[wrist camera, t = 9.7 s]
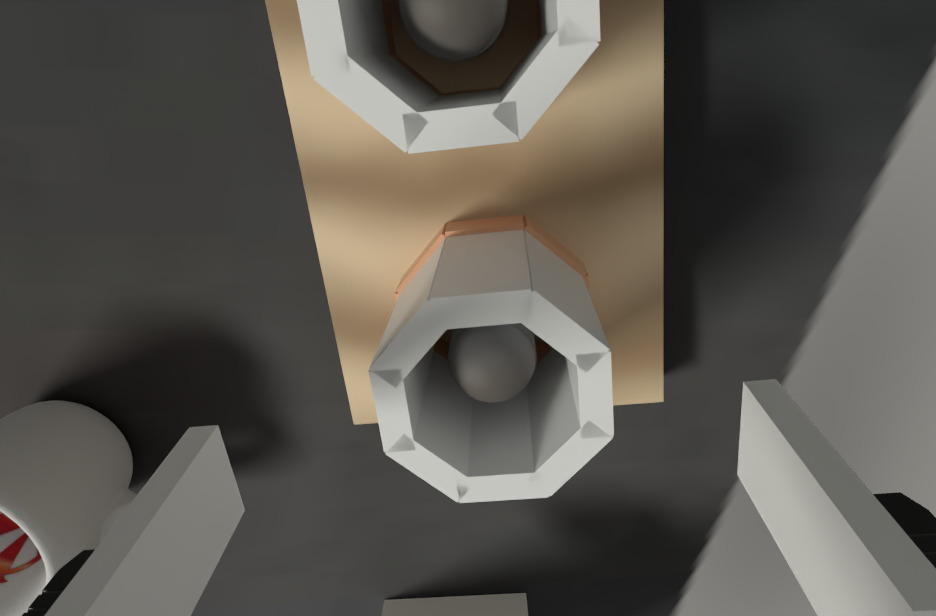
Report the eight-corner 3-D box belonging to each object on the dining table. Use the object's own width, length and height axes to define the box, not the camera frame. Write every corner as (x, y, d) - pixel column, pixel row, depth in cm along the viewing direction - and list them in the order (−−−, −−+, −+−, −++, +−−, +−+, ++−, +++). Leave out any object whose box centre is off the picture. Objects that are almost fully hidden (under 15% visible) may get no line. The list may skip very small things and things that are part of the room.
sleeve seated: (338, -96, 21) (254, -174, 14) (564, -128, 21) (601, -228, 13) (376, 134, 24) (322, 171, 17) (576, 112, 24) (611, 139, 16)
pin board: (257, -125, 23) (119, -227, 15) (649, -185, 22) (743, -332, 13) (362, 402, 31) (312, 530, 23) (653, 380, 30) (712, 506, 22)
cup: (223, 429, 32) (140, 543, 25) (191, 543, 35) (109, 675, 27) (10, 356, 31) (-144, 452, 24) (-5, 480, 34) (-146, 599, 26)
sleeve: (391, 227, 26) (347, 299, 18) (580, 208, 25) (615, 274, 17) (418, 392, 28) (389, 512, 21) (589, 378, 28) (622, 498, 20)
